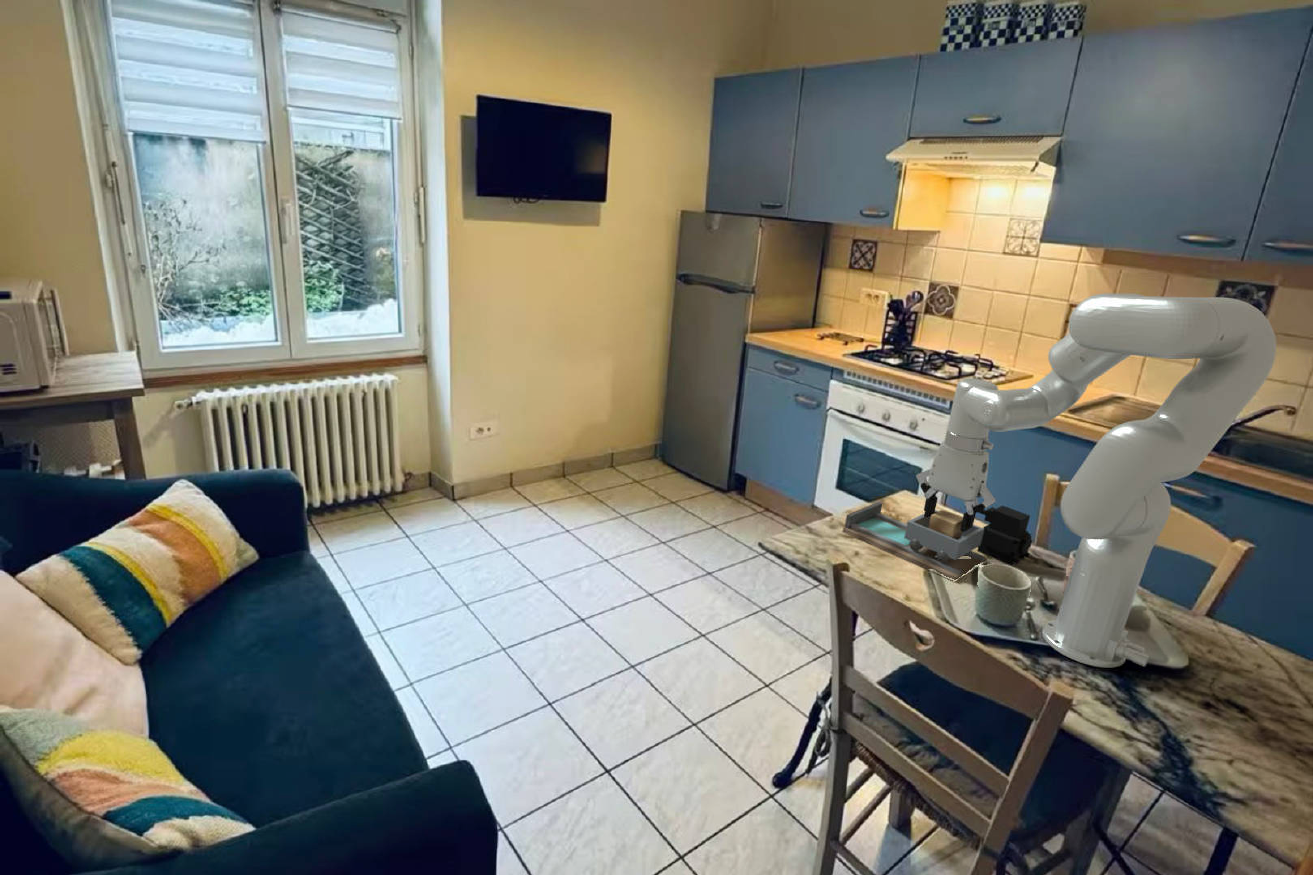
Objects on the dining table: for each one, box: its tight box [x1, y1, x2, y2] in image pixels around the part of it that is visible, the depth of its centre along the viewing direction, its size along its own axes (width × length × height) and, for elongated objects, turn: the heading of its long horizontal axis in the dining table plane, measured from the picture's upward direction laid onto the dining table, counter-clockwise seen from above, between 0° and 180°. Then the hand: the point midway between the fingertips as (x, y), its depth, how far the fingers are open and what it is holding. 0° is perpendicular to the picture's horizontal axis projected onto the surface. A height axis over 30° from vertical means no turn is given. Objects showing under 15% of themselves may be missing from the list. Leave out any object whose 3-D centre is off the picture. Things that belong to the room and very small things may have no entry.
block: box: [929, 509, 963, 540], centre depth 147 cm, size 5×5×5 cm
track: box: [842, 501, 988, 580], centre depth 153 cm, size 26×14×4 cm, turn 42°
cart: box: [904, 509, 984, 563], centre depth 148 cm, size 11×11×6 cm
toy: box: [964, 505, 1033, 566], centre depth 154 cm, size 8×14×10 cm, turn 41°
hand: (946, 522), depth 147 cm, fingers open, 7 cm apart
